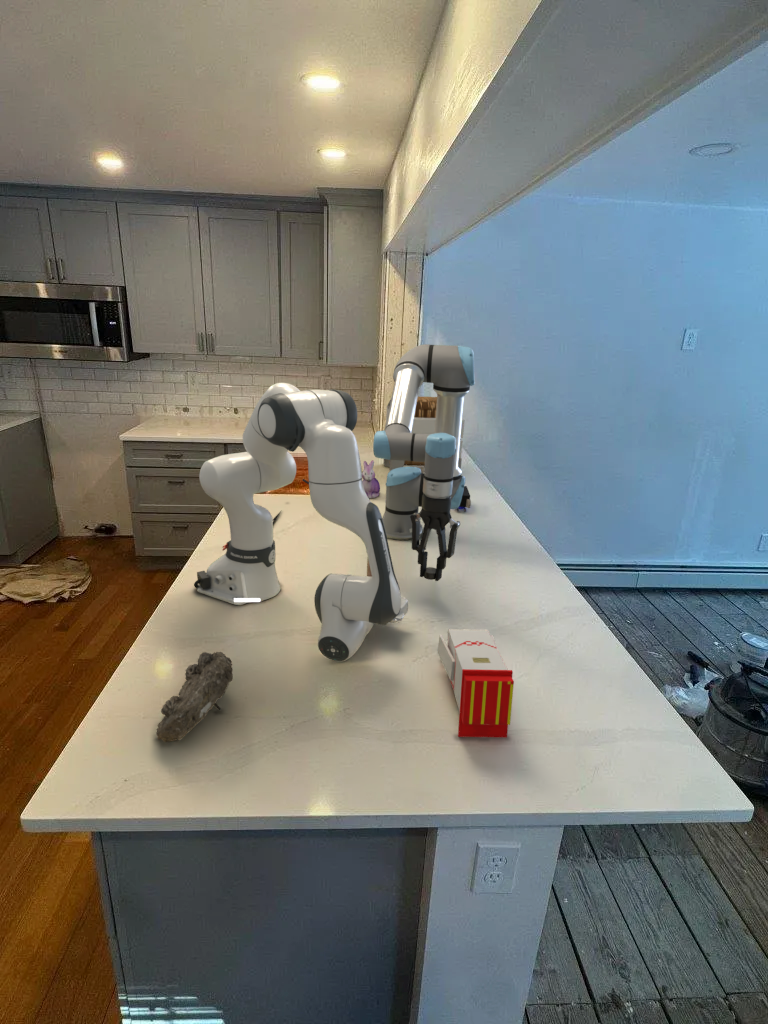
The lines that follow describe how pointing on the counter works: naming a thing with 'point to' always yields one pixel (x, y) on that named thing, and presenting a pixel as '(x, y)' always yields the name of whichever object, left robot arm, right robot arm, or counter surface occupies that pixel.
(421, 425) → the white slatted crate
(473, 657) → the toy
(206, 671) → the fossil
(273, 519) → the feather
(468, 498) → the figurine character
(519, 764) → the counter surface
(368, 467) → the figurine
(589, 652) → the counter surface
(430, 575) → the cap
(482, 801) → the counter surface
